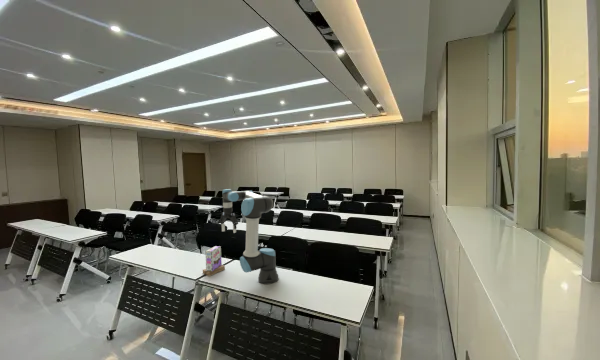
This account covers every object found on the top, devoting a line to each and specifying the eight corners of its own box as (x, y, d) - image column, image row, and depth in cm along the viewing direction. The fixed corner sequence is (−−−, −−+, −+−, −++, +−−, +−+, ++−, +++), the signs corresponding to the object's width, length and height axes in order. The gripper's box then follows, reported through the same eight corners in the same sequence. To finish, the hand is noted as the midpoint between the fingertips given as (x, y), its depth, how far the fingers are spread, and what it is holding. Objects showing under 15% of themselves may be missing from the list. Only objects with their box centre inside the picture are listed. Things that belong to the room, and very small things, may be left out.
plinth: (224, 269, 211) (224, 265, 211) (209, 275, 199) (209, 272, 199) (217, 267, 216) (217, 263, 216) (202, 273, 204) (202, 269, 204)
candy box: (212, 271, 200) (211, 251, 199) (205, 270, 201) (205, 250, 201) (221, 265, 213) (221, 246, 213) (215, 264, 215) (215, 245, 214)
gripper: (241, 207, 209) (242, 232, 210) (221, 206, 222) (222, 229, 223) (235, 208, 203) (236, 234, 203) (214, 207, 216) (215, 231, 216)
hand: (229, 232), depth 213 cm, fingers open, 13 cm apart
